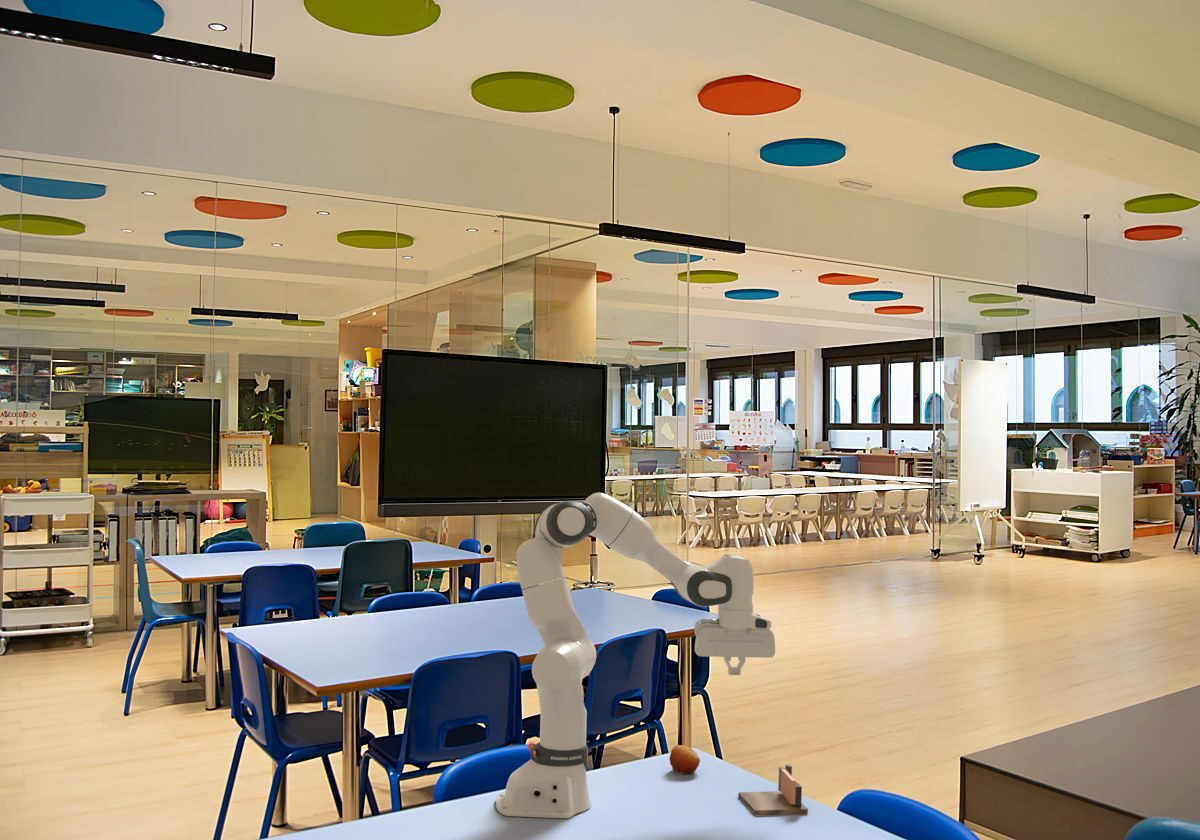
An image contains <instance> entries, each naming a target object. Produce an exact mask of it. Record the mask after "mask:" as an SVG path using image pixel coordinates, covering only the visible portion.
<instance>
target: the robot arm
mask: <svg viewBox="0 0 1200 840" xmlns="http://www.w3.org/2000/svg"><path fill="white" fill-rule="evenodd" d="M655 534H656V533H655V531H654V529H653V527H652V526H651V524H650V523H649V522H648V521H647V520H646V519H645V518H644V517H642V516H641V515H640V514H639V513H638V512H636V511H635V510H634V509H632V508H631V507H630V506H629V505H626V504H625V503H624V502H622V501H620V500H618V499H617V498H615V497H613V496H610V495H608V494H606V493H603V492H595V493H592V494H591V495H589V496H587V498H586V499H585V500H584V501H583V502H581V501H573V500H564V501H560V502H558V503H554V504H551V505H550V506H548V507H546V508H545V509H544V510H543V511H542V512H541V513H540V514H539V515H538V517H537V518H536V521H535V524H534V530H533V535H532V537H531V538H530V539H528V540H526V541H523V543H521V544H520V545H519V547H518V548H517V550H516V555H515V556H516V568H517V574H518V580H519V585H520V588H521V592H522V596H523V599H524V602H525V607H526V611H527V613H528V618H529V621H530V622H531V625H533V626H534V627H535V629H536V630H537V632H538V633H539V636H540V638H541V639H542V642H543V644H544V646H543V648H541V649H540V651H539V652H538V653H537V654H536V656H535V657H534V660H533V661H532V665H531V674H532V678H533V680H534V682H535V684H536V688H537V694H538V700H539V701H538V702H539V708H540V709H539V710H540V720H539V721H540V724H539V725H540V726H539V728H540V729H539V742H538V743H536V742H535V741H529V742H528V744H527V749H528V751H529V752H530V759H528V761H527V762H525V763H524V764H523V765H521V766H520V767H518V768H517V769H516V770H514V771H513V772H512V773H511V774H509V775H510V776H509V777H508V779H507V782H506V786H505V791H504V792H500V793H499V794H498V795H497V797H496V799H495V807H496V808H495V809H497V811H498V812H499V813H500V814H501V815H504V816H506V817H522V818H525V817H526V818H545V819H546V818H549V819H551V818H552V819H570V818H571V817H573V816H575V815H576V814H578V813H583V812H585V811H587V810H588V809H589V808H590V807H591V806H592V802H591V800H590V799H591V798H590V795H589V789H588V788H589V787H588V781H587V780H588V779H587V768H588V763H589V762H588V761H589V748H588V744H587V722H588V721H587V717H588V712H587V708H586V707H585V703H584V696H583V691H582V689H583V688H582V682H583V679H584V678H585V677H587V676H589V674H590V673H591V672H592V670H593V668H594V666H595V664H596V660H597V649H596V647H595V644H594V643H593V641H592V640H590V638H589V636H588V635H587V632H586V630H585V628H584V626H583V623H582V622H581V619H580V617H579V615H578V613H577V611H576V609H575V606H574V603H573V599H572V598H573V597H572V594H571V592H570V588H569V584H568V581H567V578H566V575H565V571H564V567H563V565H562V555H563V551H564V549H568V548H570V547H572V546H575V545H576V544H578V543H580V542H581V541H583V540H584V539H585V538H586V537H587V536H592V537H593V538H596V539H598V540H599V541H600V542H602V543H603V544H604V545H606V546H607V547H608V548H610V549H612V551H615V552H616V553H618V554H620V555H622V556H624V557H626V558H629V559H632V560H637V561H640V562H644V563H645V564H646V565H649V566H650V567H651V568H653V569H654V570H655V571H657V572H658V573H659V574H661V575H662V576H663V577H665V578H666V579H667V580H669V581H670V582H671V585H672V586H673V587H674V590H675V591H676V593H677V594H678V596H679V597H681V599H683V600H684V601H687V602H689V603H691V604H694V605H695V606H697V607H701V608H706V607H712V606H717V605H718V607H717V618H709V619H708V618H701V619H700V620H696V622H695V624H694V634H695V643H694V652H695V654H696V655H697V656H698V657H709V658H710V657H711V658H713V657H717V658H718V657H719V658H722V657H723V661H724V663H725V664H726V666H727V675H729V676H741V673H742V670H741V669H742V667H744V664H745V663H746V658H773V657H774V656H775V655H776V642H775V635H774V632H773V631H772V630H771V628H772V621H771V620H770V619H769V618H767V617H765V616H762V615H760V614H758V613H754V605H753V595H754V589H755V588H754V585H755V582H754V580H755V579H754V569H753V564H752V562H751V561H750V560H748V558H745V557H744V556H743V557H741V556H738V555H733V554H723V555H722V556H721V557H720V558H718V559H716V560H714V561H713V562H711V563H709V564H707V565H702V564H699V563H696V562H691V561H686V560H684V559H682V558H681V557H679V556H678V555H677V554H675V553H674V552H672V551H671V550H670V549H669V548H667V547H666V546H665V545H663V544H662V543H661V541H659V540H658V538H657V537H656V535H655ZM732 658H737V659H738V661H739V662H738V663H737V665H736V666H732V665H731V663H730V662H731V661H732Z"/></svg>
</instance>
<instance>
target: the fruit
mask: <svg viewBox="0 0 1200 840" xmlns="http://www.w3.org/2000/svg"><path fill="white" fill-rule="evenodd" d="M700 762H701V759H700V757H699V754H698V753H697V752H696V751H695V750H694V749H692V748H691V747H689V746H687V745H681V744H680V745H679V744H677V745H675V746H674V747H673V748H672V749H671V751H670V755H669V764H670V766H671V768H672V769H671V770H673V773H672V775H674V774H676V773H677V774H678V773H679V774H684V775H690V774H691V775H692V774H694V772H696V771H697V769H698V767H699V766H700Z"/></svg>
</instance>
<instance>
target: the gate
mask: <svg viewBox="0 0 1200 840" xmlns="http://www.w3.org/2000/svg"><path fill="white" fill-rule="evenodd" d="M796 783H797V780H796V779H795V778H794V777H793V775H792V776H791V775H790V774H789V773H788V772H787V770H786V766H779V767H778V788H777V789H778V790H777V791H781V793H782V794H783V795H784V796H785V797H786V799H787V800H788V801H789V802H790V803H791V804H795V796H796Z"/></svg>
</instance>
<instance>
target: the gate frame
mask: <svg viewBox="0 0 1200 840" xmlns="http://www.w3.org/2000/svg"><path fill="white" fill-rule="evenodd" d="M785 769H786V770H787V772H788V773H789V774H790V775H791V776H792V777H793V775H792V774H793V772H792V770H793V767H792V765H790V764H785ZM802 789H803V787H802V785H801V784H800V783H799V782H796V796H795V804H791V803H790V802H789V801H788V800H787V799H786V797H785V796H784V795H783V794H782V793H781V791H779V790H777V791H744V792H742V791H740V792H738V799H739V798H740V799H741V800H742V801H741V800H740V799H739V800H740V801H741V802H742V803H743V804H744V805H745V806H746V807H747V809H750V810H749V811H750V812H751V813H752V814H753V815H754V816H755V815H761V816H785V815H787V816H788V815H808V814H809V813H808V812H809V811H808V810H809V808H807V806H806V805H804V804H803V802H802V794H803V793H802V791H803V790H802Z"/></svg>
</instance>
